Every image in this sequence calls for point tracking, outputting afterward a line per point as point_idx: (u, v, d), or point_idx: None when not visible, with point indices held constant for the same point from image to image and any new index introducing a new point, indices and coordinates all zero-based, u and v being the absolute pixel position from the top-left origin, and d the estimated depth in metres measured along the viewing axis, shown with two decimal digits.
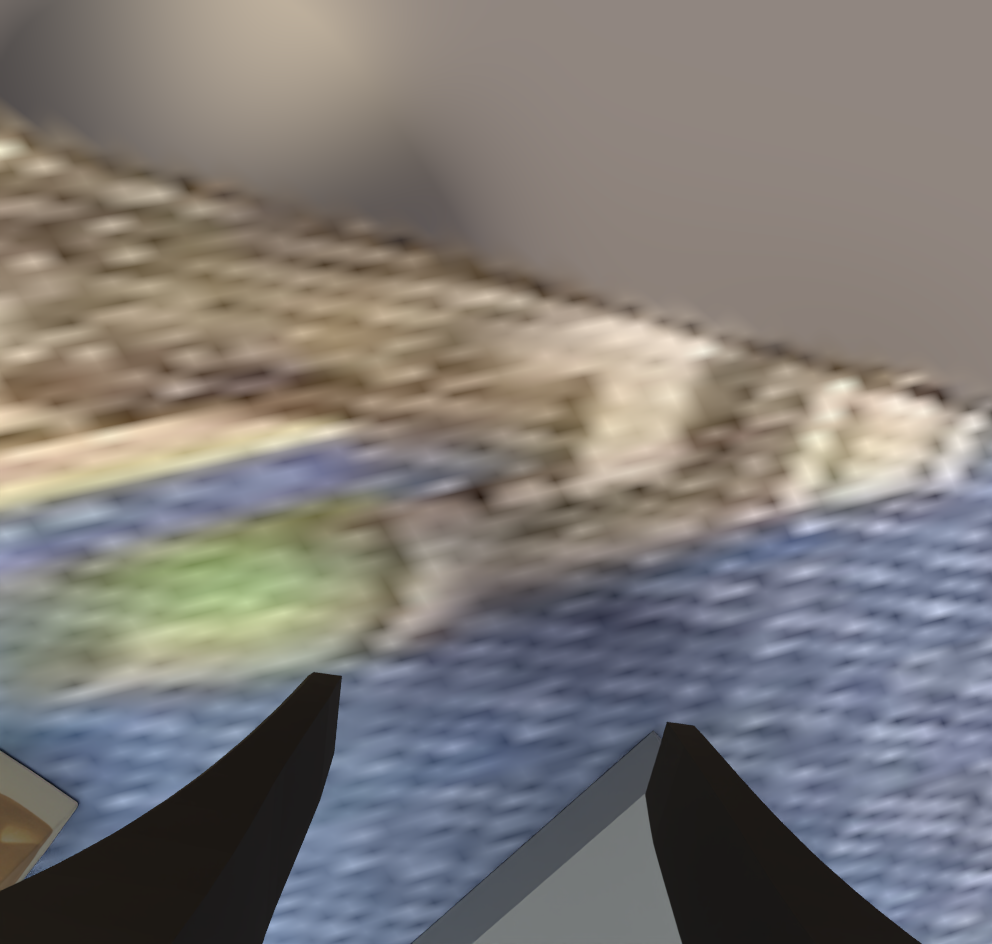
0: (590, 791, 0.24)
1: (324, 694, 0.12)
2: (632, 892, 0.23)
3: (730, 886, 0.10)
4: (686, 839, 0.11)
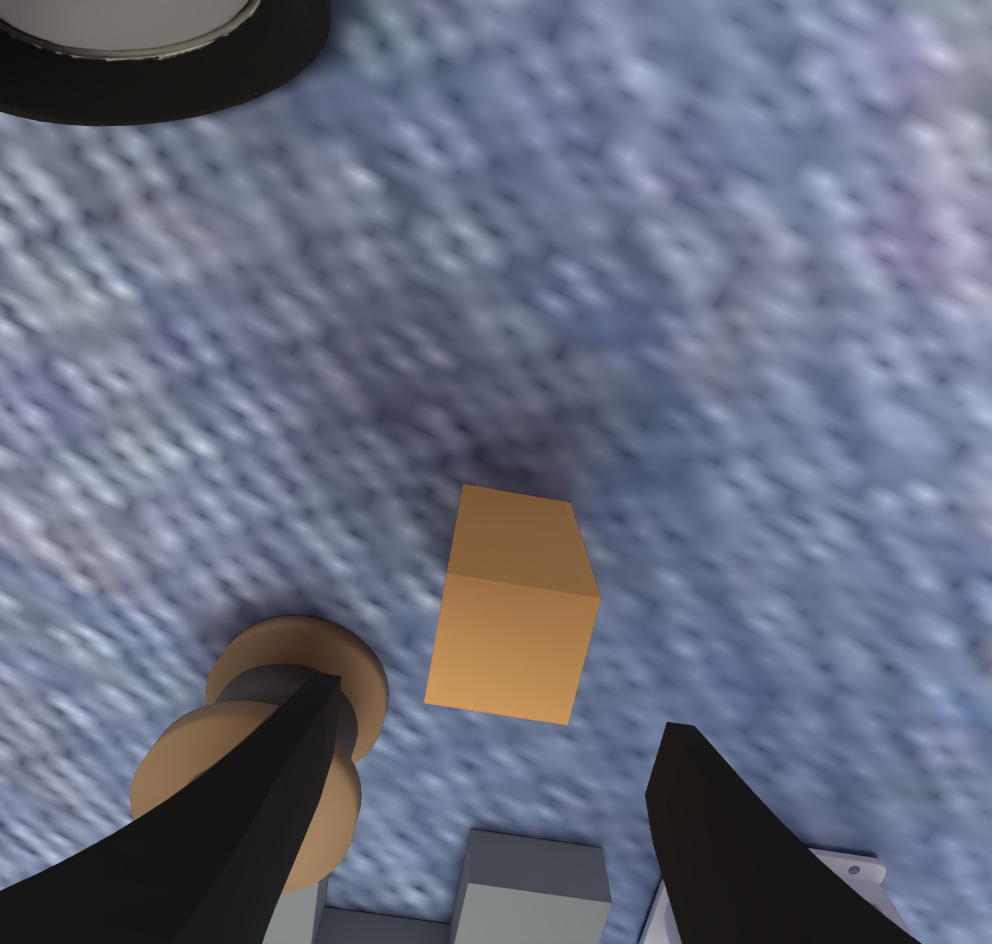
0: None
1: (324, 694, 0.12)
2: None
3: (730, 886, 0.10)
4: (686, 839, 0.11)
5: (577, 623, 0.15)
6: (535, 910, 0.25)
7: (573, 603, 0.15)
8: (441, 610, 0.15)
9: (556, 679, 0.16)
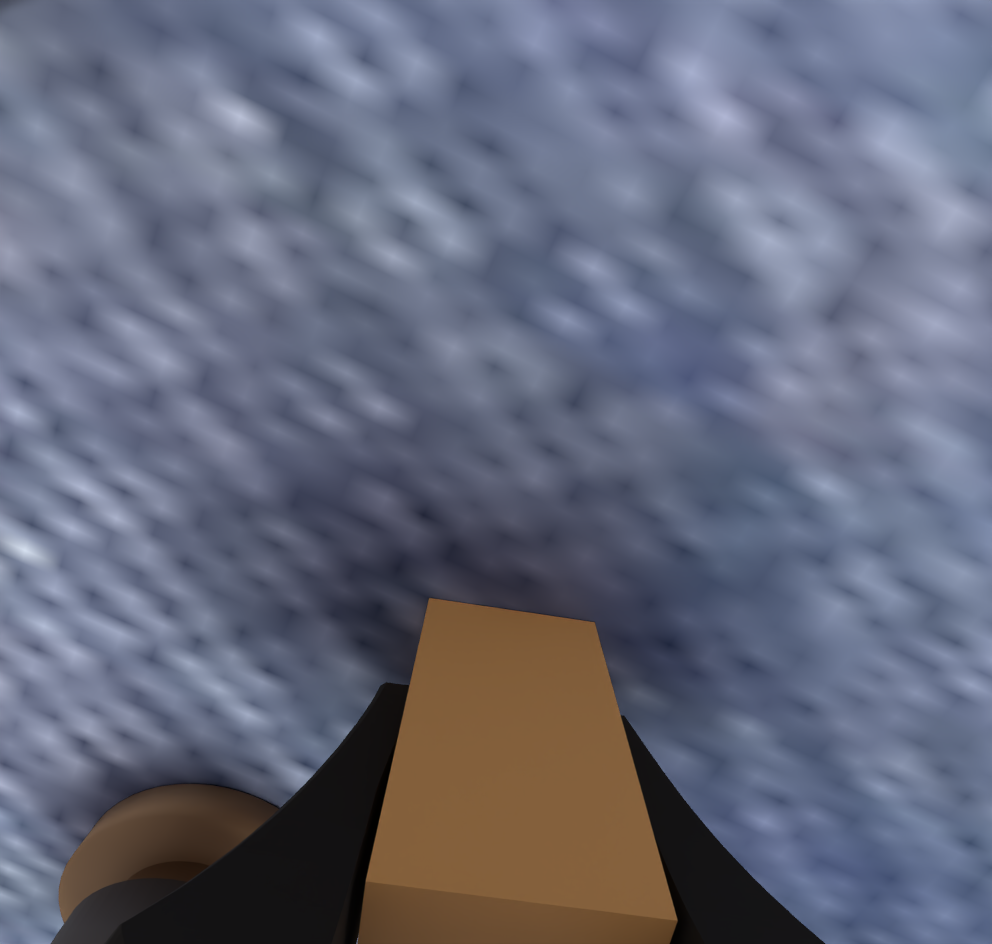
0: None
1: (402, 705, 0.12)
2: None
3: None
4: None
5: None
6: None
7: (622, 929, 0.08)
8: (360, 941, 0.08)
9: None
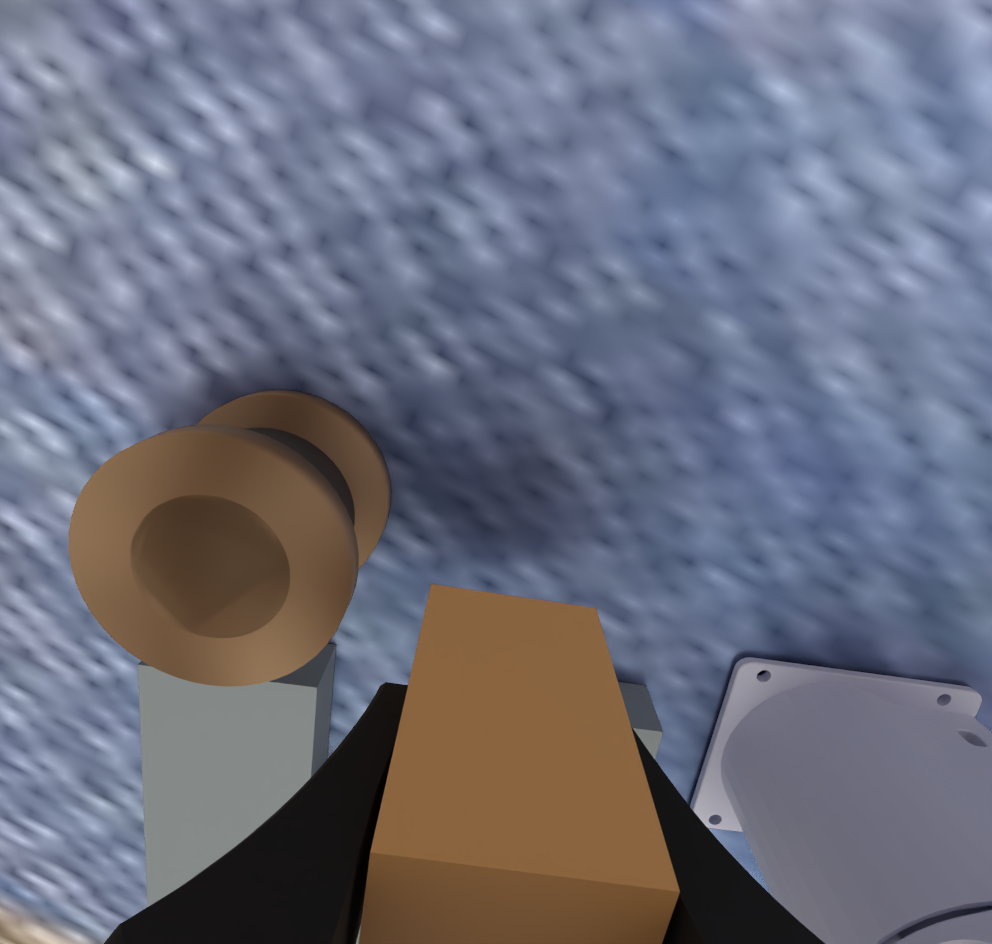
0: None
1: (402, 705, 0.12)
2: None
3: None
4: None
5: (632, 932, 0.08)
6: None
7: (624, 899, 0.08)
8: (365, 913, 0.08)
9: None
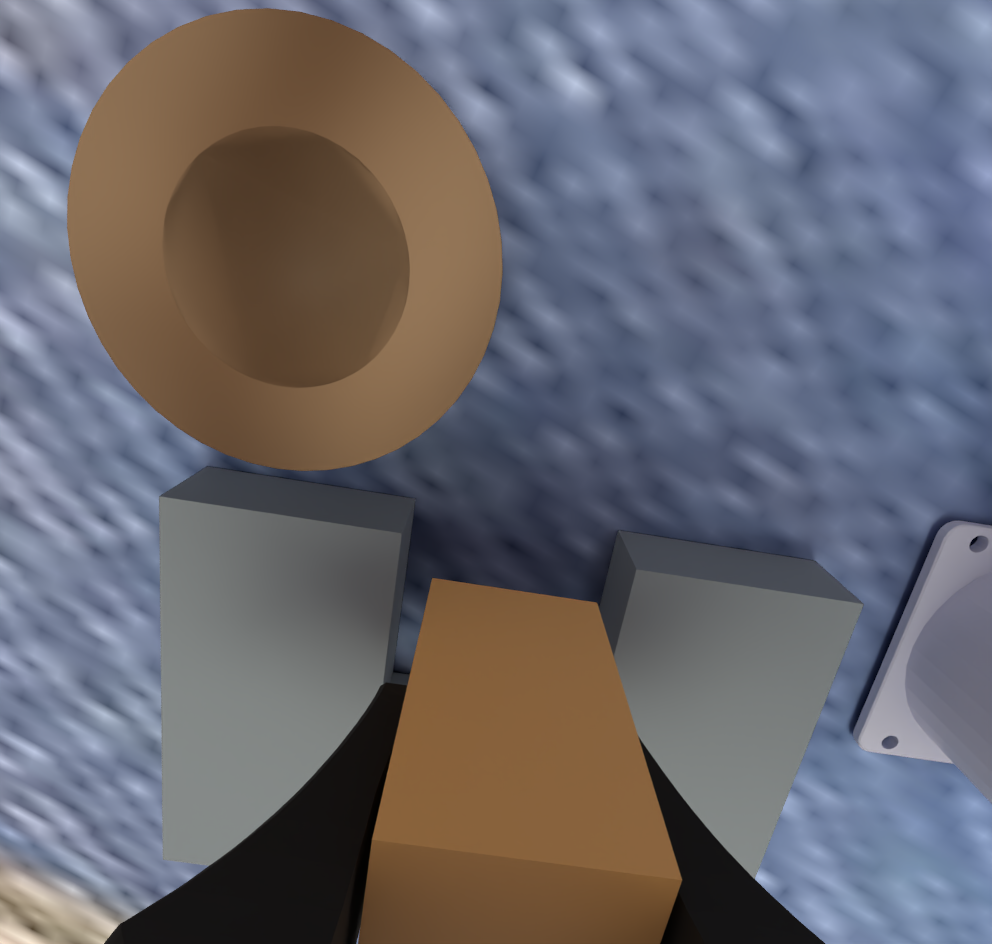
0: None
1: (402, 705, 0.12)
2: None
3: None
4: None
5: (634, 920, 0.08)
6: (740, 620, 0.16)
7: (626, 888, 0.08)
8: (366, 901, 0.08)
9: None
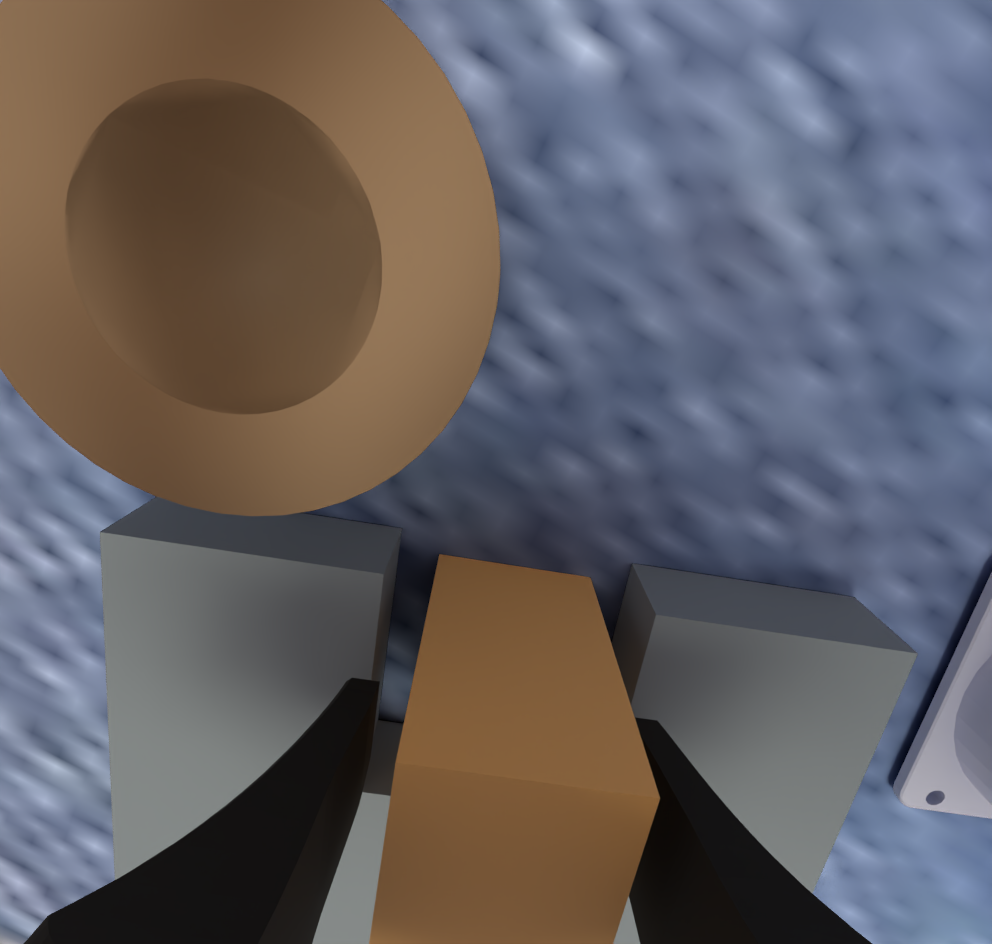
0: None
1: (365, 700, 0.12)
2: None
3: (682, 880, 0.10)
4: None
5: (619, 835, 0.09)
6: (774, 671, 0.13)
7: (613, 805, 0.09)
8: (389, 818, 0.09)
9: (584, 916, 0.10)
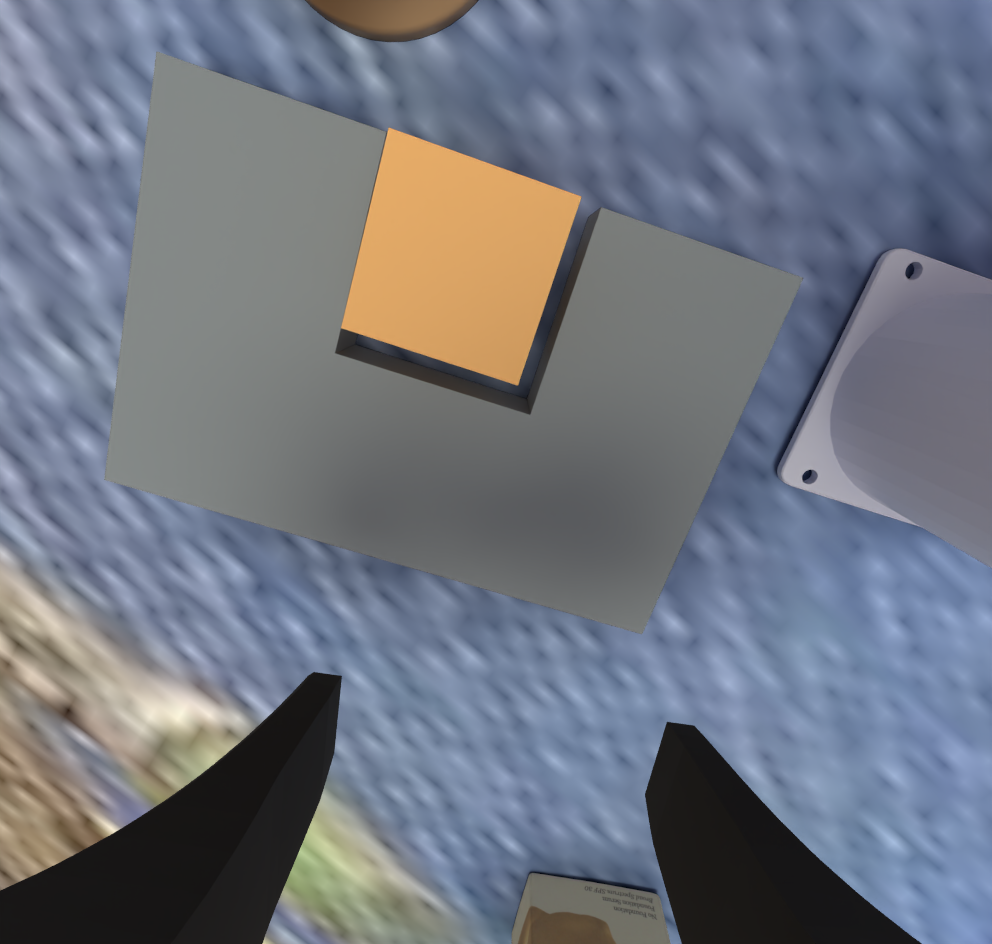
0: None
1: (324, 694, 0.12)
2: (261, 440, 0.18)
3: (730, 886, 0.10)
4: (686, 839, 0.11)
5: (547, 231, 0.12)
6: (689, 279, 0.17)
7: (545, 199, 0.12)
8: (376, 187, 0.12)
9: (511, 314, 0.13)
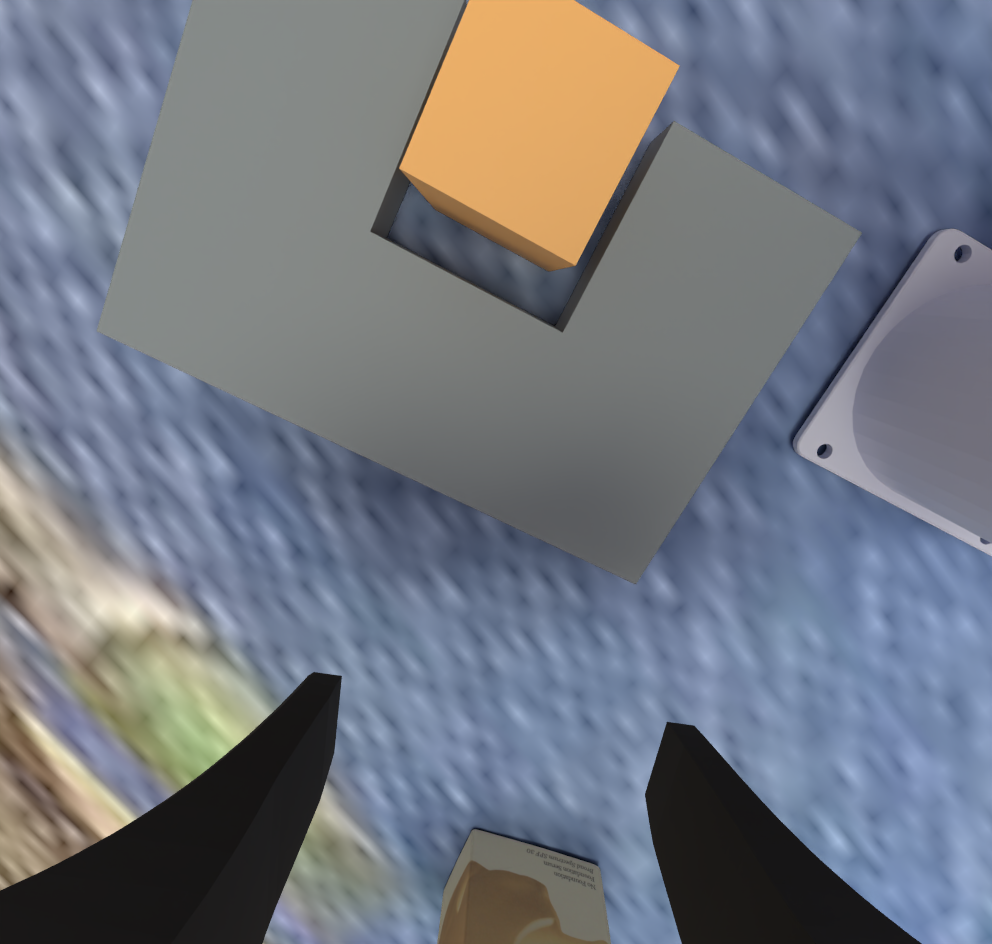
0: None
1: (324, 694, 0.12)
2: (275, 315, 0.17)
3: (730, 886, 0.10)
4: (686, 839, 0.11)
5: (637, 98, 0.11)
6: (749, 214, 0.16)
7: (642, 61, 0.11)
8: (465, 15, 0.11)
9: (583, 185, 0.12)
